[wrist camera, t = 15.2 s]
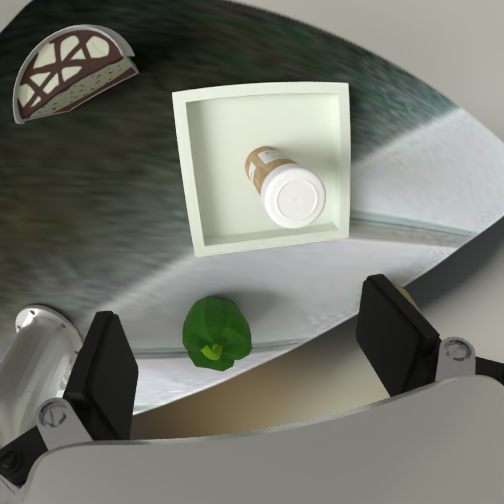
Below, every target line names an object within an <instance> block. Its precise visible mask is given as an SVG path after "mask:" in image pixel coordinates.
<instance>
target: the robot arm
mask: <svg viewBox="0 0 504 504" xmlns="http://www.w3.org/2000/svg"><path fill="white" fill-rule="evenodd" d="M16 331H17V335H16V336H15V338H14V339H13V341H12V343H11V344H10V346H9V348H8V349H7V351H6V353H5V355H4V356H3V358H2V360H1V362H0V504H504V364H503V363H499V362H495V361H491V360H487V359H484V358H480V357H476V356H475V350H474V348H473V346H472V345H471V344H470V343H469V342H468V341H466V340H464V339H463V338H459V337H448V338H446V339H444V340H443V341H442V340H441V339H440V338H439V336H440V334H439V333H438V332H437V331H436V330H435V329H434V328H433V327H432V326H431V324H430V323H429V322H428V321H427V320H426V319H425V318H424V317H423V316H422V315H421V313H420V312H419V311H418V310H417V309H416V308H415V307H414V306H413V305H412V304H411V303H410V302H409V301H408V300H407V298H406V297H405V296H404V295H403V294H402V293H401V292H400V291H399V290H398V289H397V288H396V287H395V286H394V285H393V284H392V283H391V282H390V281H389V280H388V279H387V278H386V277H385V276H384V275H383V274H377V275H371V276H368V277H367V280H365V281H364V282H363V288H362V296H361V303H360V309H359V316H358V323H357V329H356V340H357V342H358V344H359V345H360V347H361V349H362V350H363V352H364V354H365V355H366V357H367V359H368V360H369V361H370V363H371V365H372V367H373V368H374V370H375V372H376V373H377V375H378V377H379V378H380V380H381V382H382V383H383V385H384V387H385V388H386V390H387V392H388V393H389V395H390V398H387V399H384V400H381V401H378V402H375V403H371V404H368V405H365V406H362V407H358V408H355V409H351V410H348V411H344V412H340V413H336V414H332V415H328V416H324V417H320V418H316V419H312V420H307V421H303V422H298V423H293V424H289V425H283V426H278V427H272V428H267V429H261V430H254V431H247V432H240V433H233V434H225V435H216V436H206V437H195V438H181V439H160V440H129V439H130V430H131V422H132V414H133V407H134V400H135V393H136V386H137V380H138V366H137V363H136V361H135V358H134V356H133V353H132V351H131V348H130V346H129V343H128V341H127V338H126V336H125V333H124V330H123V328H122V325H121V322H120V320H119V317H118V315H117V314H113V312H112V311H101V312H97V313H96V314H95V317H94V319H93V322H92V324H91V326H90V329H89V331H88V334H87V336H86V339H85V341H84V344H83V343H82V340H81V337H80V335H79V333H78V332H77V330H76V329H75V327H74V326H73V325H72V324H71V323H70V322H69V321H68V320H67V319H66V318H65V317H64V316H63V315H61V314H60V313H58V312H57V311H55V310H53V309H51V308H48V307H46V306H42V305H29V306H26V307H25V308H23V309H22V310H21V311H20V313H19V314H18V316H17V318H16ZM71 366H73V369H72V371H71V374H70V375H69V370H70V367H71ZM62 378H64V380H65V381H66V383H67V385H66V383H65V382H64V380H63V379H62ZM58 389H59V390H64V389H65V391H64V394H63V397H62V398H55V397H56V394H57V391H58Z"/></svg>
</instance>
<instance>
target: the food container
mask: <svg viewBox="0 0 504 504" xmlns="http://www.w3.org/2000/svg"><path fill="white" fill-rule="evenodd" d="M129 56H135V55H134V53H133V51H132V49H131V47H130V46H129V44H128V43H127V42H126V40H125V39H124V38H123V37H121V36H120V35H119V34H118V33H116V32H114V31H113V30H111V29H108V28H105V27H102V26H95V25H75V26H71V27H67V28H65V29H62V30H60V31H58V32H55V33H54V34H52V35H50V36H49V37H47V38H46V39H44V40H43V41H42V42H41V43H39V44H38V45H37V46H36V47H35V48H34V50H33V51H32V52H31V53H30V54H29V56H28V57H27V59H26V60H25V62H24V64H23V65H22V67H21V69H20V71H19V74H18V76H17V79H16V83H15V87H14V93H13V111H14V117H15V120H16V123H18V124H24V123H25V122H24V121H27V120H31V119H36V118H40V117H45V116H50V115H54V114H60V113H65V112H69V111H71V110H72V109H74V108H76V107H77V106H79V105H81V104H82V103H84V102H86V101H87V100H89V99H91V98H92V97H94V96H96V95H98V94H100V93H101V92H103V91H105V90H107V89H109V88H111V87H112V86H114V85H116V84H118V83H120V82H122V81H124V80H126V79H128V78H130V77H132V76H134V75H136V74H138V73H139V71H138V69H137V67H136V65H135V64H134V63H133V61H132V60H131V59H130V58H129Z"/></svg>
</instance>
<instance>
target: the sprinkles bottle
mask: <svg viewBox="0 0 504 504" xmlns="http://www.w3.org/2000/svg"><path fill="white" fill-rule="evenodd" d="M245 171H246V175H247V176H248V178H249V180H251V182H252V184H253V185H254V187H255V189H256V190H257V192H258V194H259V195H260V197H261V200H262V204H263V206H264V208H265V210H266V212H267V214H268V215H269V216H270V218H271V219H272V220H273V221H274V222H275V223H277V224H278V225H280V226H282V227H285V228H290V229H297V228H302V227H305V226H307V225H309V224H311V223H312V222H314V221H315V220H316V219H317V218H318V217H319V216H320V214H321V213H322V211H323V209H324V206H325V203H326V190H325V187H324V184H323V182H322V180H321V179H320V178H319V177H318V175H316V174H315V173H314V172H313V171H311V170H310V169H308V168H307V167H305V166H303V165H300V164H298V163H296V162H295V161H293V160H292V159H290V158H288V157H287V156H285V155H284V154H282V153H280V152H279V151H278V150H276V149H275V148H272V147H268V146H266V147H265V146H264V147H259V148H257V149H255V150H253V151H252V152H251V153H250V154H249V155H248V157H247V159H246V163H245Z"/></svg>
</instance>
